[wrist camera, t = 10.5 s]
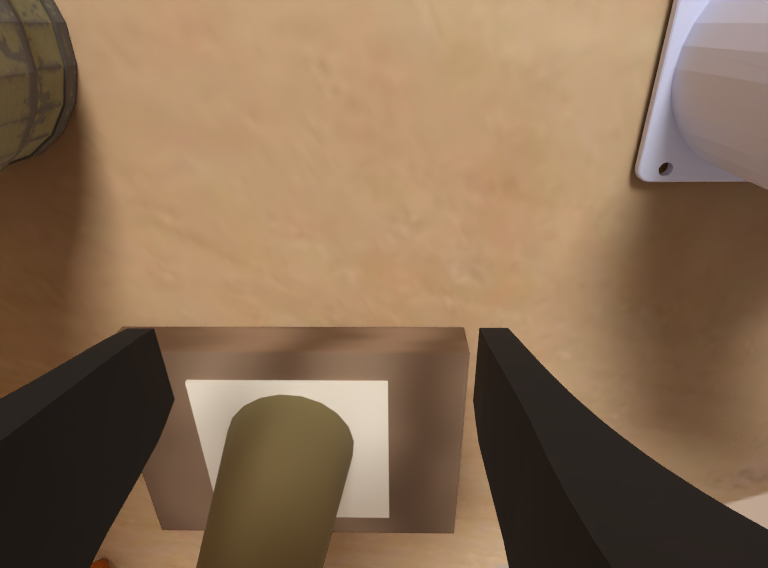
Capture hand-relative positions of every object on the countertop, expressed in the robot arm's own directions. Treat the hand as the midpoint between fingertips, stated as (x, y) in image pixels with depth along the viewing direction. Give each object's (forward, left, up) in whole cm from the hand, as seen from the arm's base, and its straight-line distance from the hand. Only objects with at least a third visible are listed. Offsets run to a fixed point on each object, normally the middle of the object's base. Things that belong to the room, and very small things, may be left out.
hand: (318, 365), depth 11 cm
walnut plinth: (+3, +12, -10) cm, 16 cm away
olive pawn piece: (+3, +11, -8) cm, 14 cm away
